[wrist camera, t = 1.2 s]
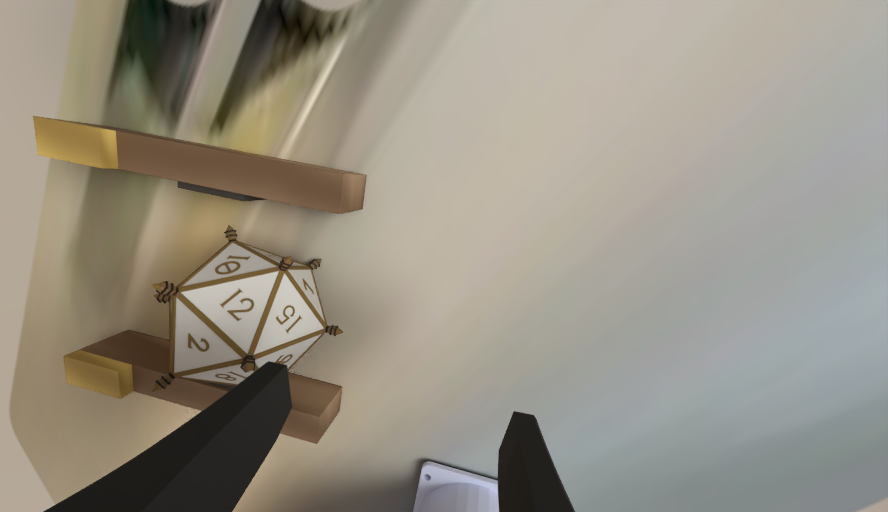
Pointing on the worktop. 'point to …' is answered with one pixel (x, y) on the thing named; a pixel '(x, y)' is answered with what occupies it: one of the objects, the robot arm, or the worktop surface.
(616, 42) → the worktop surface
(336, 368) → the worktop surface
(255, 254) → the game die
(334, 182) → the twin wooden rails
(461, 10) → the worktop surface
